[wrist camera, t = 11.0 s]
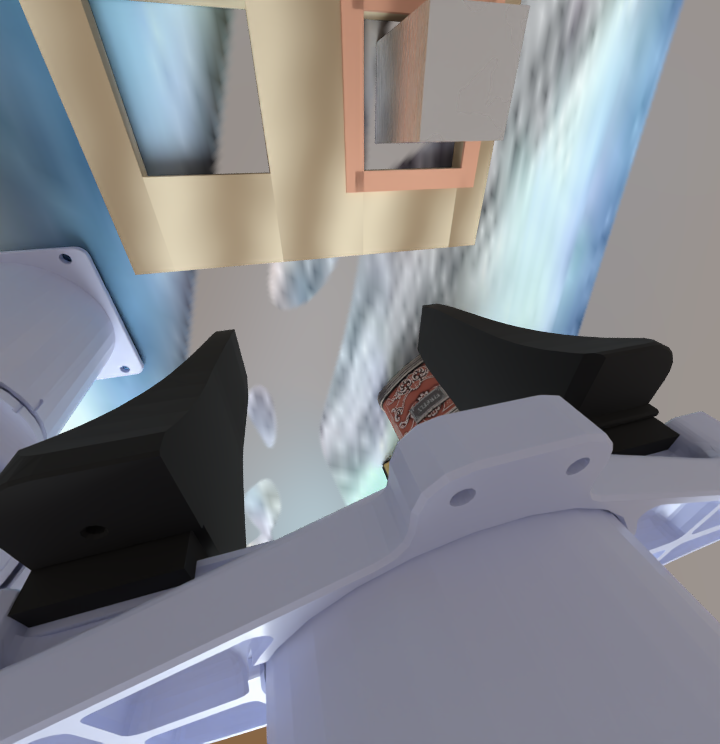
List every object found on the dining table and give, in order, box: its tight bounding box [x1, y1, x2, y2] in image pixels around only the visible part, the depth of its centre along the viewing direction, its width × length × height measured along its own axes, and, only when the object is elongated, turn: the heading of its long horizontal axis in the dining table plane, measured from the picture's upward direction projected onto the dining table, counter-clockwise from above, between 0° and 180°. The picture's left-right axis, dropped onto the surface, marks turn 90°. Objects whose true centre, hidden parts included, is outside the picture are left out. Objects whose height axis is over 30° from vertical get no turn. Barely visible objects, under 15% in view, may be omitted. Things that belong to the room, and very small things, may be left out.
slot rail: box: [19, 0, 521, 275], centre depth 16 cm, size 21×15×1 cm
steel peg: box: [375, 0, 530, 143], centre depth 15 cm, size 4×4×6 cm
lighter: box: [378, 355, 460, 440], centre depth 25 cm, size 8×3×10 cm, turn 132°
